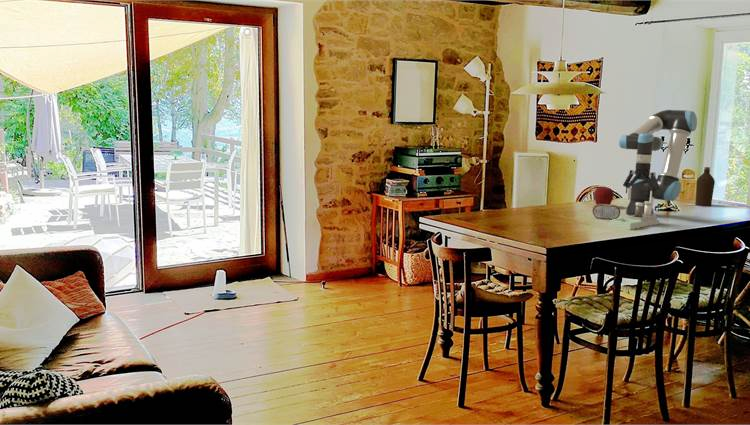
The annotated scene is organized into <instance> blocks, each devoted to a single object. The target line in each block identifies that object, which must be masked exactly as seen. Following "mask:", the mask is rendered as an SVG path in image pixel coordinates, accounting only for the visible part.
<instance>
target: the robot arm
mask: <svg viewBox="0 0 750 425" xmlns="http://www.w3.org/2000/svg"><path fill="white" fill-rule="evenodd" d="M697 126H698V118H697V115H696V113H695V111H693V110H687V109H686V110H679V109H678V110H677V109H665V110H662V111H658V112H656V113H654V114H652V115H651V116H650V117H648V118H647V120H646V122H644V123H643V124H641V126H639V127H638V128H637V129H636V130H634V131H633V132H631V133H629V134H625V135H624V134H623V135H621V136H620V138H619V139H618V145H619V148H621V149H626V150H635V151H636V159H635V160H636V163H635V170H634V169H630V170H629V172H628V173H629V174H628V175H627V177H626V179H625V180H624V182H623V185H622V186H623V187H625V193H626V199H625V200H626V201H627V200H629V203H628V205H627V207H626V211H625V214H626V215H628V216H632V215H635V209H636V206H635V205H636V202H640V203H645V201H649V203H654V200H659V201H660V200H662V201H667V202H669V201H671V202H672V201H673V202H674V201H675V200H677V198H678V197H679V196H680V194H681V191H682V190H681V189H682V183H681V182H680V178H679V176H678V174H679V171H680V166H681V162H682V157H683V154H684V150H685V146H686V141H687V139H688V137H690V136H691V135H692V134H691V133H692V132H695V131H696V129H697V128H698V127H697ZM661 130H667V131H669V134H670V137H669V138H670V139H669V141H668V145H667V149H666V154H665V158H664V162H663V166H662V169H661V173H660V174H658V175H657V177H656V171H655V172H653V171H651V166H652V164H651V162H652V156H653V155H652V154H653V151H654V152H656V151H659V150H661V149H662V147H663V145H664V141H663V139H662V138H660V137H659V136H658V137H657V136H654V133H655V132H657V133H658V132H659V131H661ZM644 207H645V204H644V206H643V214H644ZM651 214H652V215H654V210H653V207H652V212H651Z"/></svg>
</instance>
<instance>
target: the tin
mask: <svg viewBox="0 0 750 425" xmlns="http://www.w3.org/2000/svg"><path fill="white" fill-rule="evenodd" d="M592 215H593V216H594V217H595V218H596V219H601V220H611V219H617V218H620V215H621V209H620V207H619V206H618V205H616V204H610V205H609V204H595V205H594V206H593V207H592Z"/></svg>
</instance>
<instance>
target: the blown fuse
mask: <svg viewBox="0 0 750 425" xmlns="http://www.w3.org/2000/svg"><path fill="white" fill-rule="evenodd" d="M635 206H636V209H635V217H639V218H642V214H643V206H644V203H640V202H636V205H635Z"/></svg>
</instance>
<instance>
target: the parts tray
mask: <svg viewBox="0 0 750 425" xmlns="http://www.w3.org/2000/svg"><path fill="white" fill-rule="evenodd" d="M628 218H629V217H618V218H617V219H612V220H611V219H609V227H612V226H614V227H613V228H617V227H619V228H618V229H623V228H624V229H623V230H628V229H632V230H636V229H635V228H637V229H641V228H640V227H642V228H644V227H643V221H640V220H634V219H628Z"/></svg>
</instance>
